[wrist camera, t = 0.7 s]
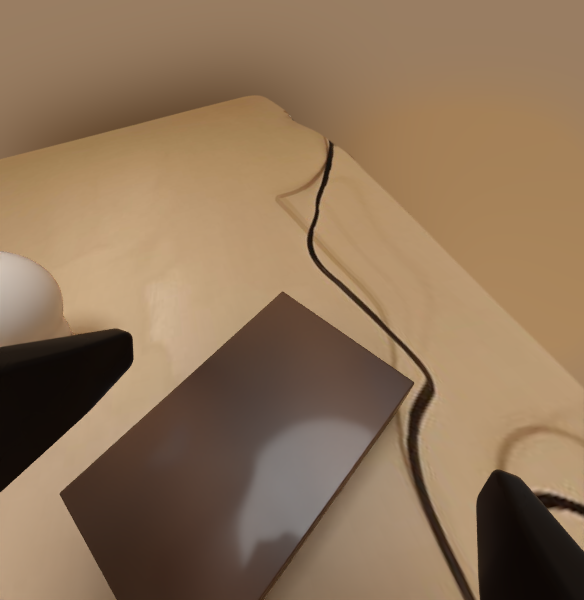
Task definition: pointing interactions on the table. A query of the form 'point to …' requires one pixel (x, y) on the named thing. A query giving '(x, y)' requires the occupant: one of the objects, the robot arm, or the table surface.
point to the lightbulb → (29, 302)
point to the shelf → (236, 461)
